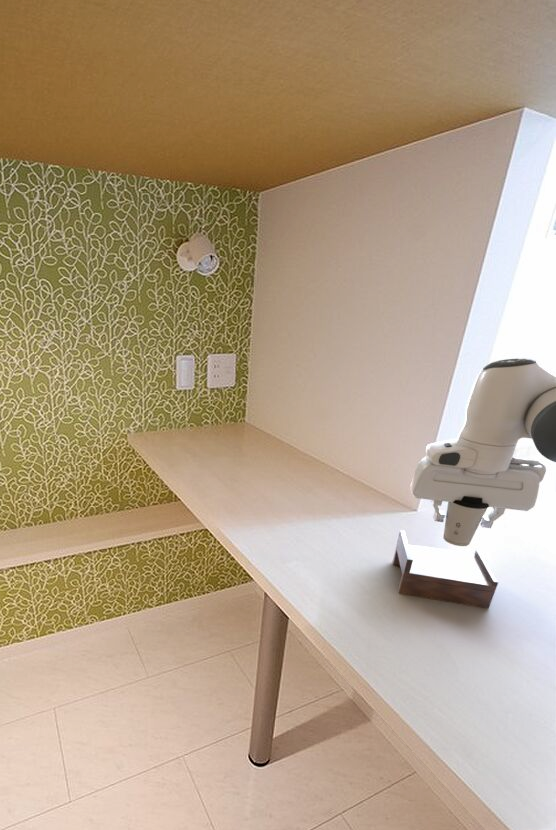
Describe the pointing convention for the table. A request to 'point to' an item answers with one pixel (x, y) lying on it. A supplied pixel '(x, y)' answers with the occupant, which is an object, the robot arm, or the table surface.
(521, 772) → the table surface
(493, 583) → the stand
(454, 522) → the coffee cup
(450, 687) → the table surface
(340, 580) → the table surface
